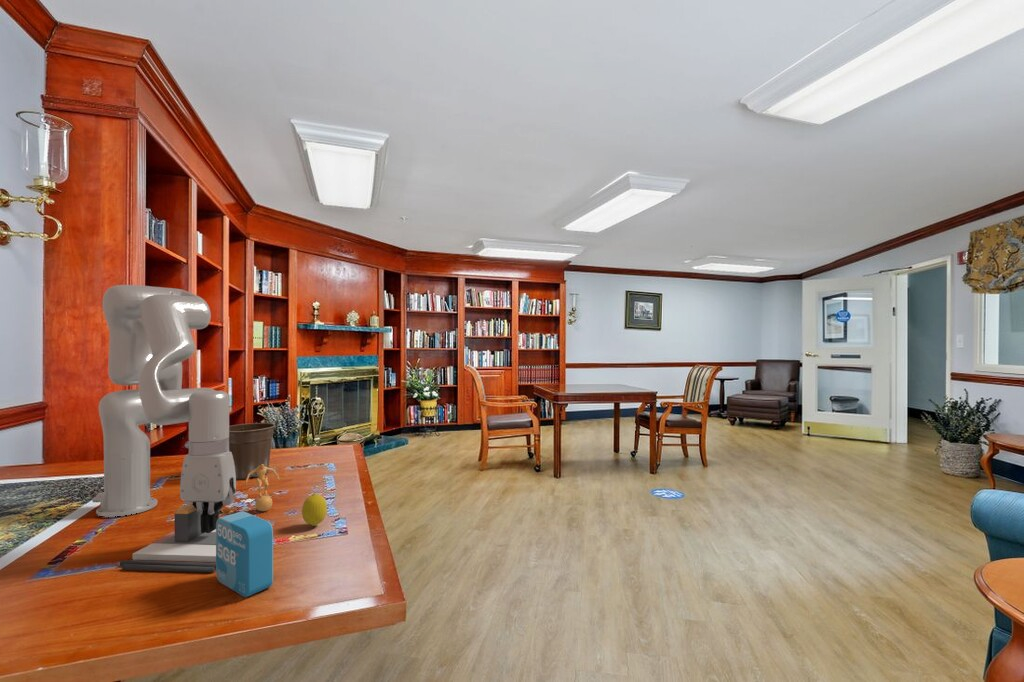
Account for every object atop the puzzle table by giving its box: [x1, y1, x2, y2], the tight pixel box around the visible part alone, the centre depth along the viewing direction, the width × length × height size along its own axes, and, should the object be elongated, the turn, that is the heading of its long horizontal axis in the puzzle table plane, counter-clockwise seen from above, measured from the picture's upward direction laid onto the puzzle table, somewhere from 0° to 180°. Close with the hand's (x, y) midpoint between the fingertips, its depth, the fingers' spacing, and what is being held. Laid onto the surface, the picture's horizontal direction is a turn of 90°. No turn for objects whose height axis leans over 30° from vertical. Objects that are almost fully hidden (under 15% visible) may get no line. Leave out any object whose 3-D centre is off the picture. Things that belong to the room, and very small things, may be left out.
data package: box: [215, 510, 274, 598], centre depth 87 cm, size 12×4×12 cm, turn 55°
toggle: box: [174, 503, 202, 542], centre depth 105 cm, size 3×5×7 cm, turn 176°
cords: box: [119, 559, 216, 574], centre depth 93 cm, size 20×3×1 cm, turn 86°
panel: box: [132, 529, 216, 563], centre depth 104 cm, size 20×16×1 cm
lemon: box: [301, 492, 328, 527], centre depth 114 cm, size 6×6×8 cm
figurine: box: [244, 464, 280, 512], centre depth 125 cm, size 8×6×12 cm
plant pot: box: [229, 422, 276, 481], centre depth 158 cm, size 16×16×16 cm
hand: (209, 530), depth 104 cm, fingers closed
